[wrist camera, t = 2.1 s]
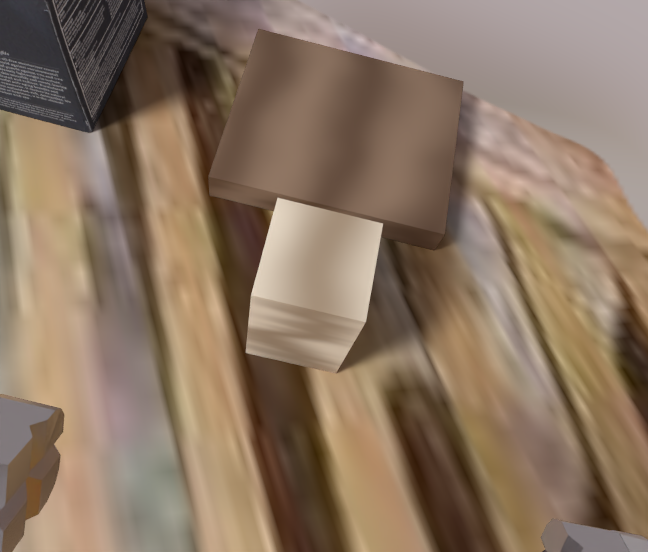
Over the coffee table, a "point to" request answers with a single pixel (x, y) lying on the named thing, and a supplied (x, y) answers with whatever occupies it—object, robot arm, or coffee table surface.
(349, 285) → the birch block
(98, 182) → the coffee table surface
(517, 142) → the coffee table surface
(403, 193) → the walnut board
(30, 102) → the small box
